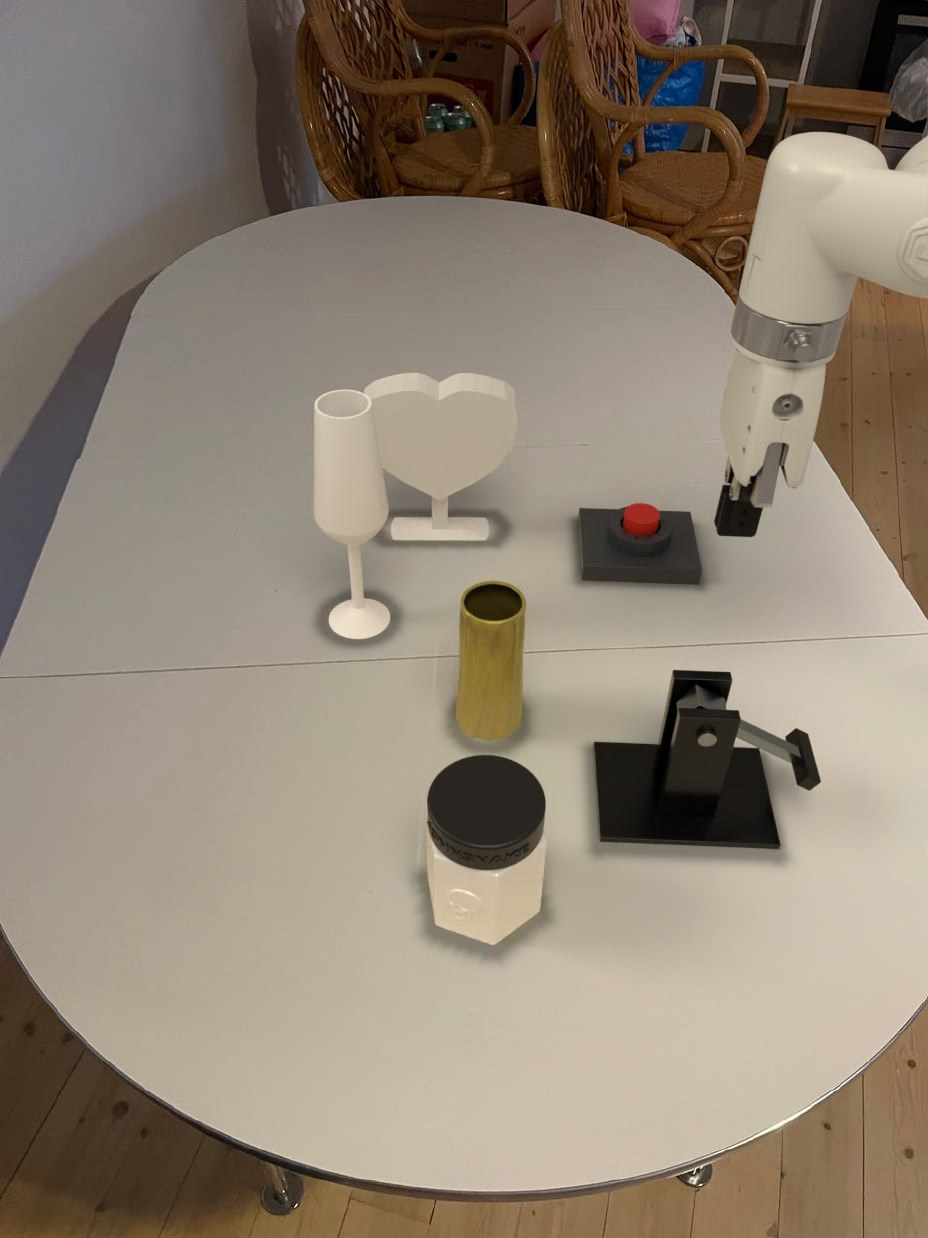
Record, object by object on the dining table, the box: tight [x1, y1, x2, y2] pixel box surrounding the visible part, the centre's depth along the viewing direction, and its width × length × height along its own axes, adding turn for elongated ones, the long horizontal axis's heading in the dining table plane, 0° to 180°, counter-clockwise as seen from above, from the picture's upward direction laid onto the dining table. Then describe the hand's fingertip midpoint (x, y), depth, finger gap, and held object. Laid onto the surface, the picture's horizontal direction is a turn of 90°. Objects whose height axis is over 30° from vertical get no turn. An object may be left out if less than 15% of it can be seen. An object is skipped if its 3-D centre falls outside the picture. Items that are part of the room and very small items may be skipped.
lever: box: [676, 685, 822, 791], centre depth 80 cm, size 12×5×2 cm
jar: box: [425, 754, 548, 946], centre depth 75 cm, size 9×8×12 cm
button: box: [623, 502, 660, 536], centre depth 107 cm, size 4×4×2 cm
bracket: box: [592, 669, 782, 850], centre depth 82 cm, size 14×10×13 cm
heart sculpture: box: [363, 372, 519, 541], centre depth 107 cm, size 16×5×18 cm, turn 91°
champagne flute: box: [313, 389, 391, 640], centre depth 94 cm, size 7×7×24 cm
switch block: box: [577, 505, 703, 586], centre depth 109 cm, size 12×10×4 cm
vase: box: [455, 580, 527, 742], centre depth 87 cm, size 6×6×14 cm
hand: (734, 530), depth 86 cm, fingers closed
